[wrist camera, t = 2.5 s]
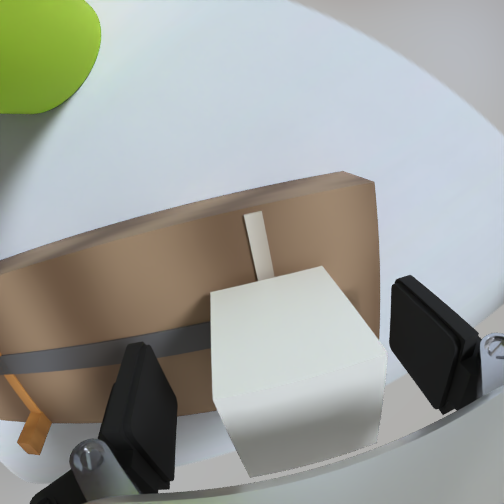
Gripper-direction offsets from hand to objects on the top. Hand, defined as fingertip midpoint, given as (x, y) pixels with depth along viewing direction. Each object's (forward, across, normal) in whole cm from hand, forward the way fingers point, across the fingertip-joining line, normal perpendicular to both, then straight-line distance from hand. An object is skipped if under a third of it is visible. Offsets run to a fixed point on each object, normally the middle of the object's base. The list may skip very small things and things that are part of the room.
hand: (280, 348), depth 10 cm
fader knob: (+1, 0, 0) cm, 1 cm away
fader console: (+5, +7, 0) cm, 8 cm away
